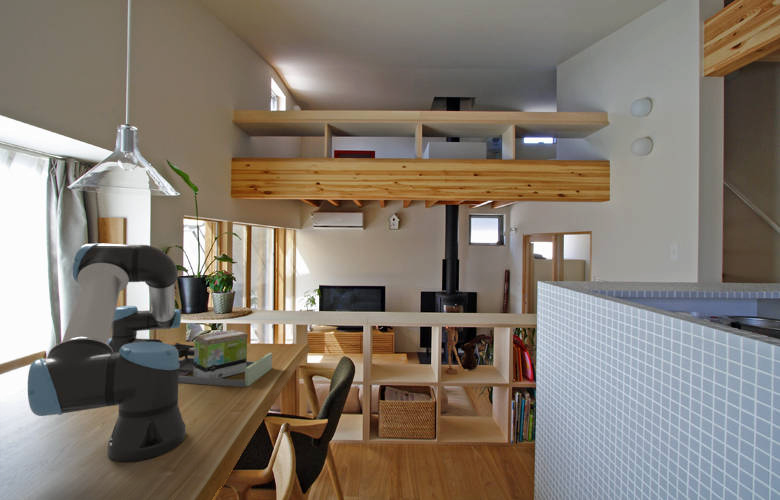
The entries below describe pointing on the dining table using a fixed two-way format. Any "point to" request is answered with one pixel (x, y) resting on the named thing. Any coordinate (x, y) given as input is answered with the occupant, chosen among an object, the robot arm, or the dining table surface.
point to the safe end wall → (258, 369)
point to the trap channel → (189, 368)
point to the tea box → (220, 354)
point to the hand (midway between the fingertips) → (206, 352)
